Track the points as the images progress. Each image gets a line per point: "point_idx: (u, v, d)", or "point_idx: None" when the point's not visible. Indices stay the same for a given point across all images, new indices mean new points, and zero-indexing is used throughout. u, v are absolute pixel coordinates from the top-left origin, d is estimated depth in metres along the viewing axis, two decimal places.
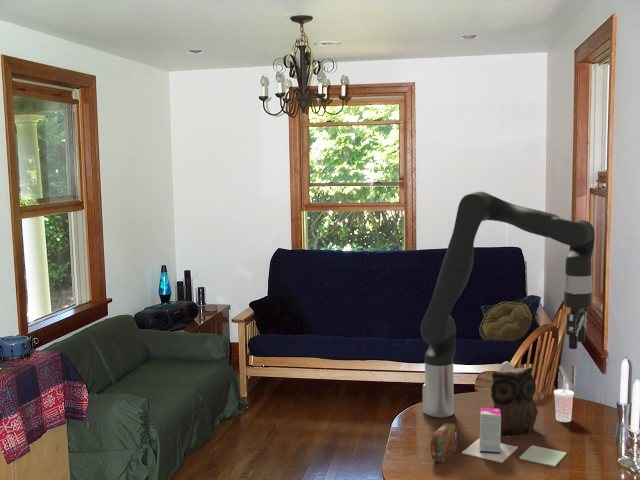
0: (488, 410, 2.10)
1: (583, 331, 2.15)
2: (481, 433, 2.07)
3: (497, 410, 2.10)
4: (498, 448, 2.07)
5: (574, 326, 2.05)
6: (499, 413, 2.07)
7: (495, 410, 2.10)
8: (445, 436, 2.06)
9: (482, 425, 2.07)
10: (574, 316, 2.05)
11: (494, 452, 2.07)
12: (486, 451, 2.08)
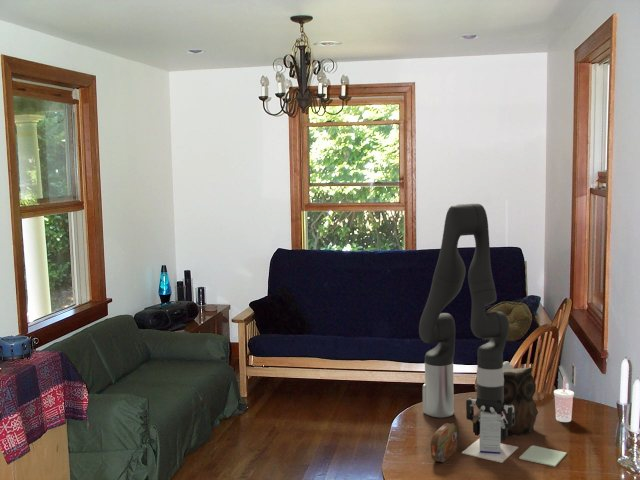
0: None
1: (479, 423, 2.12)
2: (481, 433, 2.07)
3: None
4: (498, 448, 2.07)
5: (514, 416, 2.06)
6: None
7: None
8: (445, 436, 2.06)
9: (482, 425, 2.07)
10: (514, 406, 2.05)
11: (494, 452, 2.07)
12: (486, 451, 2.08)
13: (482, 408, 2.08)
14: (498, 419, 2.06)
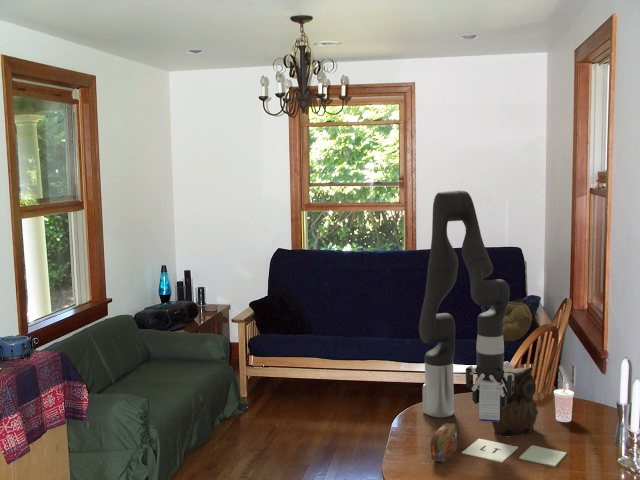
0: None
1: None
2: (480, 401, 2.07)
3: None
4: (497, 416, 2.06)
5: (513, 384, 2.05)
6: None
7: None
8: (445, 436, 2.06)
9: (481, 393, 2.06)
10: (514, 374, 2.04)
11: (493, 420, 2.07)
12: (485, 419, 2.07)
13: (482, 376, 2.07)
14: (497, 387, 2.05)
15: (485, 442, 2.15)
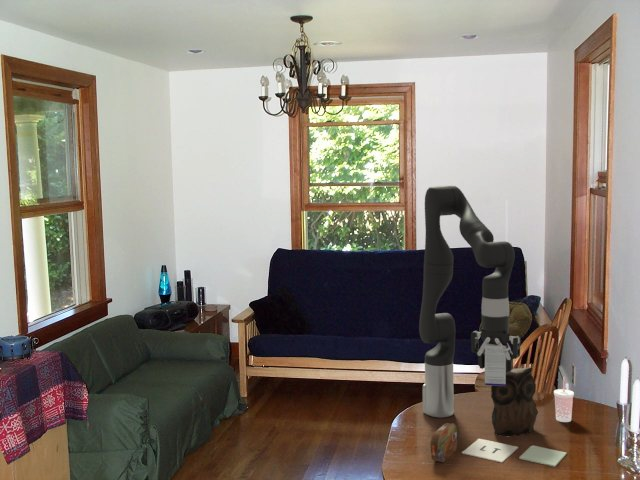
0: None
1: (484, 356, 2.09)
2: (486, 365, 2.05)
3: None
4: (503, 380, 2.04)
5: (519, 347, 2.03)
6: (504, 345, 2.04)
7: None
8: (445, 436, 2.06)
9: (487, 357, 2.04)
10: (519, 337, 2.02)
11: (499, 384, 2.04)
12: (491, 383, 2.05)
13: (487, 340, 2.05)
14: (503, 350, 2.03)
15: (485, 442, 2.15)
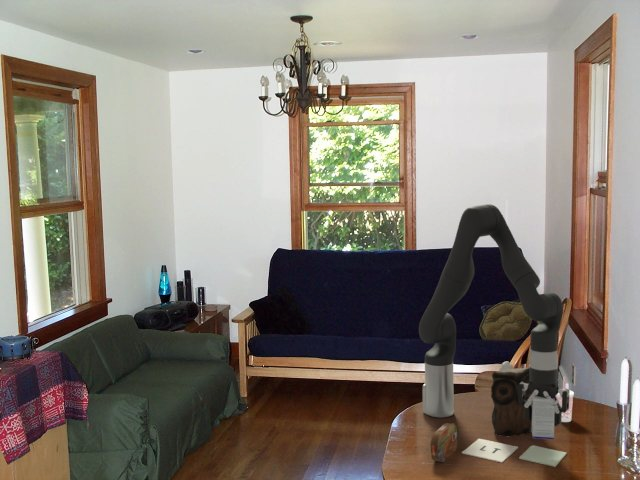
0: None
1: (531, 408, 2.07)
2: (534, 418, 2.02)
3: None
4: (552, 434, 2.01)
5: (568, 401, 2.00)
6: None
7: None
8: (445, 436, 2.06)
9: (535, 410, 2.02)
10: (568, 391, 2.00)
11: (547, 438, 2.02)
12: (539, 437, 2.02)
13: (535, 392, 2.03)
14: (552, 403, 2.00)
15: (485, 442, 2.15)
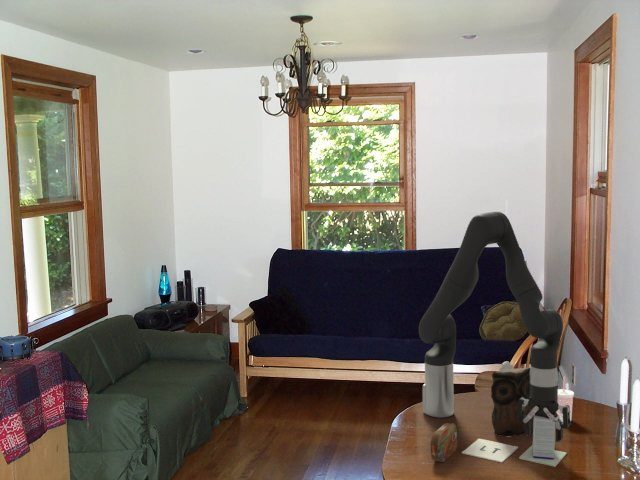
0: None
1: (530, 423, 2.07)
2: (534, 438, 2.03)
3: None
4: (552, 454, 2.02)
5: (569, 416, 2.01)
6: None
7: None
8: (445, 436, 2.06)
9: (535, 430, 2.02)
10: None
11: (548, 458, 2.02)
12: (539, 456, 2.03)
13: (535, 409, 2.03)
14: (553, 420, 2.01)
15: (485, 442, 2.15)
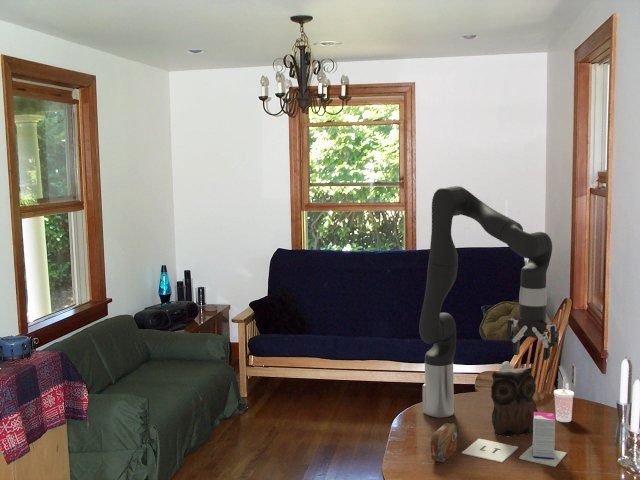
0: (541, 414, 2.05)
1: (519, 343, 2.14)
2: (534, 438, 2.03)
3: (551, 415, 2.05)
4: (552, 454, 2.02)
5: (557, 335, 2.07)
6: (553, 418, 2.02)
7: (549, 414, 2.05)
8: (445, 436, 2.06)
9: (535, 430, 2.02)
10: (556, 325, 2.07)
11: (548, 458, 2.02)
12: (539, 456, 2.03)
13: (524, 328, 2.10)
14: (541, 338, 2.07)
15: (485, 442, 2.15)
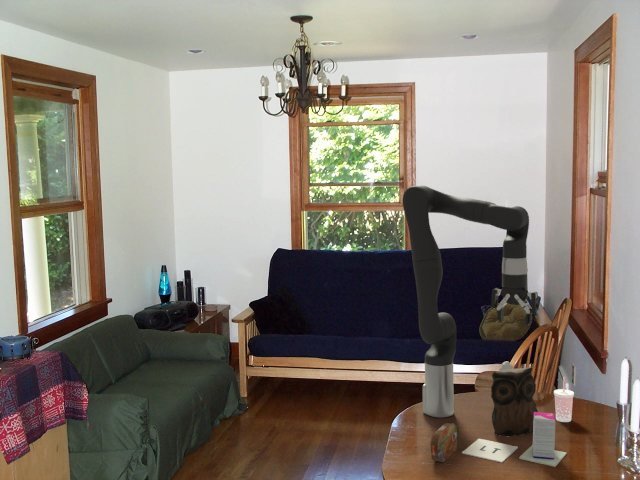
0: (541, 414, 2.05)
1: (503, 311, 2.30)
2: (534, 438, 2.03)
3: (551, 415, 2.05)
4: (552, 454, 2.02)
5: (537, 302, 2.23)
6: (553, 418, 2.02)
7: (549, 414, 2.05)
8: (445, 436, 2.06)
9: (535, 430, 2.02)
10: None
11: (548, 458, 2.02)
12: (539, 456, 2.03)
13: (507, 296, 2.25)
14: (523, 305, 2.23)
15: (485, 442, 2.15)
